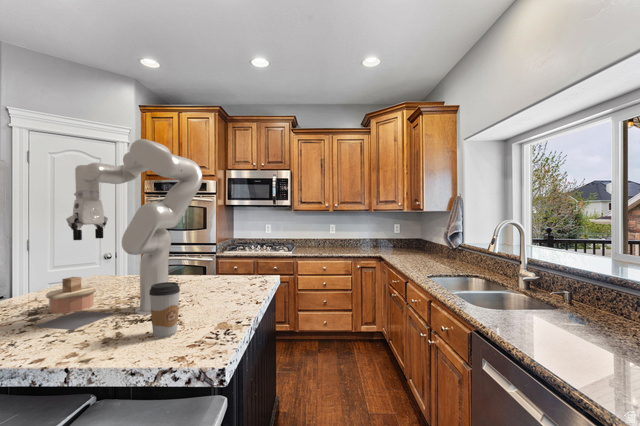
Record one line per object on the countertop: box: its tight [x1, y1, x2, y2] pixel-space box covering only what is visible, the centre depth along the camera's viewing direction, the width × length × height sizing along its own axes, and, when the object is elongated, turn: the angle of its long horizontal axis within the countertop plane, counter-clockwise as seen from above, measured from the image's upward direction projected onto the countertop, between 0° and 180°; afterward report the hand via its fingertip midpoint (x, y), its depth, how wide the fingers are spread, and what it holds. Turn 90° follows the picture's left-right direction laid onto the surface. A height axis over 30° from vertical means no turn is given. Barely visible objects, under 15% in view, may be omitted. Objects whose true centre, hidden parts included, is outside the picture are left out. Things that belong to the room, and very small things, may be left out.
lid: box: [45, 276, 97, 300], centre depth 118 cm, size 15×15×6 cm
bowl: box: [48, 293, 95, 314], centre depth 118 cm, size 13×13×6 cm
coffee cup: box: [149, 281, 181, 339], centre depth 93 cm, size 8×8×15 cm
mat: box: [31, 310, 117, 331], centre depth 105 cm, size 16×16×1 cm
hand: (88, 239), depth 122 cm, fingers open, 9 cm apart
